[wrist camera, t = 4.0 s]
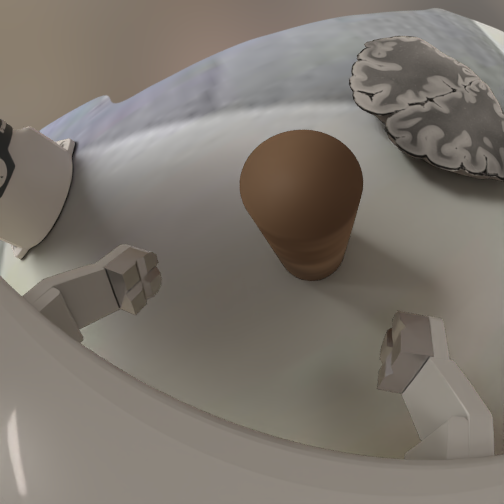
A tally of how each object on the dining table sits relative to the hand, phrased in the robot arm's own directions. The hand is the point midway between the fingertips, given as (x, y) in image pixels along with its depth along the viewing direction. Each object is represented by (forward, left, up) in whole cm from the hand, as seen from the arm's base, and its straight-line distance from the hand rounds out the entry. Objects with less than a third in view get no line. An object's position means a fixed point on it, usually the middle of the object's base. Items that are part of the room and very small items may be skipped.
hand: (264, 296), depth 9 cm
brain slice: (+6, +21, -11) cm, 25 cm away
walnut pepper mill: (-1, +4, -11) cm, 12 cm away
